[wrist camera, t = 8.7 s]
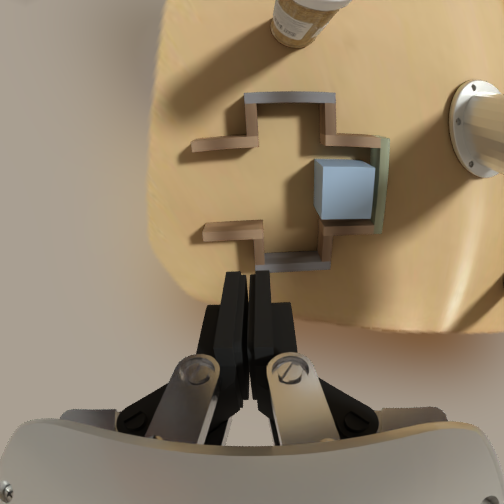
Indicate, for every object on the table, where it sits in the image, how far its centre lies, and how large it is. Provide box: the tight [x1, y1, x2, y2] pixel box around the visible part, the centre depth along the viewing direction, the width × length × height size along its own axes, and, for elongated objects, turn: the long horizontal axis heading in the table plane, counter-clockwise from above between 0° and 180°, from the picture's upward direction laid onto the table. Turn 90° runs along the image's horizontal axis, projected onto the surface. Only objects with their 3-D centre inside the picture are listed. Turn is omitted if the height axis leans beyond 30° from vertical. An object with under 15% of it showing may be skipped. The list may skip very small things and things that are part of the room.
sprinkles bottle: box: [271, 0, 352, 48], centre depth 14 cm, size 5×5×13 cm
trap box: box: [191, 92, 390, 273], centre depth 27 cm, size 18×18×2 cm
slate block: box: [314, 159, 375, 220], centre depth 26 cm, size 5×5×4 cm
